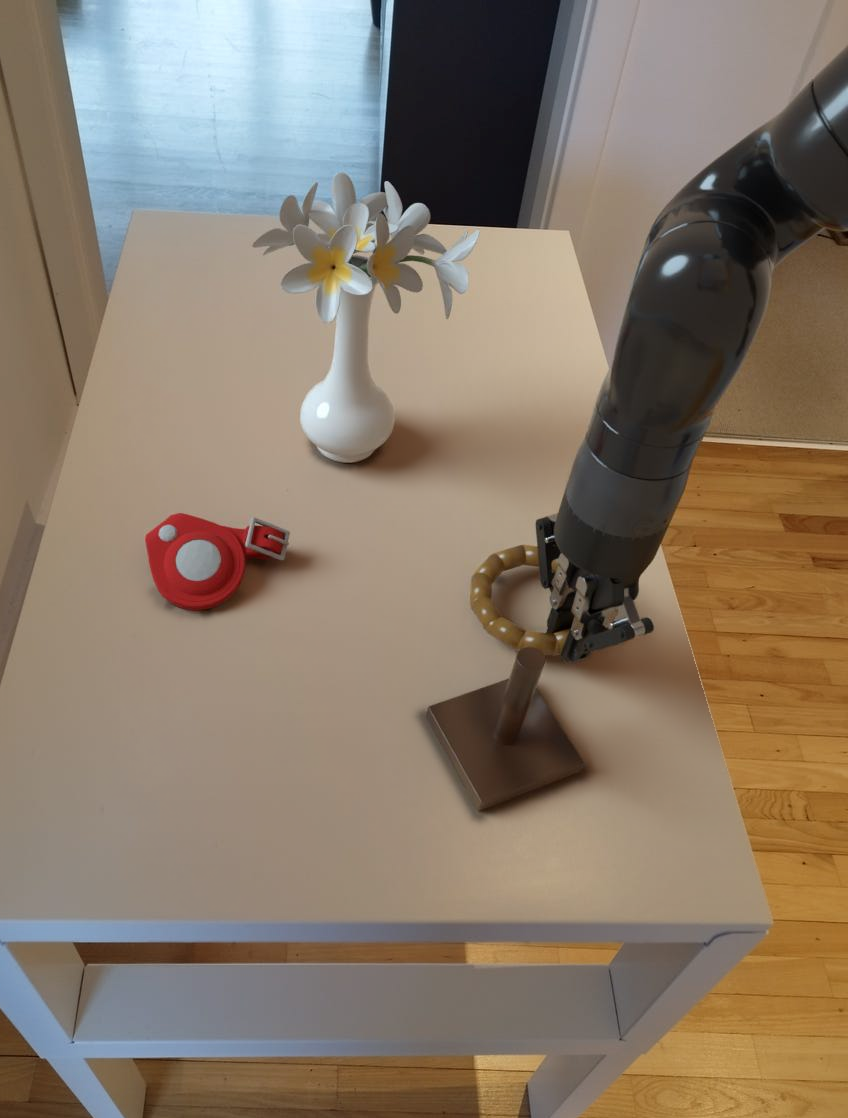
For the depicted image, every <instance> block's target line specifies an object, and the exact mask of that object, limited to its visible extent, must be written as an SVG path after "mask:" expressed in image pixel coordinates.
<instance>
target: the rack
mask: <svg viewBox="0 0 848 1118" xmlns="http://www.w3.org/2000/svg"><path fill="white" fill-rule="evenodd" d="M545 656H546V655H545V654H543V653H542V652H541V651H540V650H538V649H536V648H533V647H525V648H522V649H521V650H519V651H517V653H516V656H515V659H514V662H513V666H512V668H511V672H510V675H509V678H507V679H504V680H500V681H498V682H495V683H492V684H489V685H486V686H484V687H481V688H478V689H475V690H472V691H469V692H467V693H463V694H461V695H460V694H459V695H457V696H454V697H452V698H449V699H445V700H443V701H440V702H438V703H435V704H432V705H429V706H427V709H426V714H425V718H426V719H427V721H428V724H429V725H430V727H431V729H432V731H433V732H434V734H435V736H436V738H437V739H438V741H439V743H440V745H441V747H442V749H443V750H444V752H445V754H446V756H447V758H448V759H449V761H450V763H451V765H452V767H453V768H454V770H455V772H456V774H457V776H458V778H459V779H460V781H461V783H462V785H463V787H464V789H465V790H466V792H467V794H468V796H469V798H470V799H471V801H472V803H473V805H474V806H475V809H476V810H477V812H481V811H483V810H485V809H488V808H490V807H493V806H496V805H498V804H501V803H503V802H505V801H508V800H511V799H513V798H516V797H518V796H522V795H523V794H527V793H529V792H531V791H534V790H536V789H539V788H542V787H545V786H548V785H550V784H552V783H554V782H557V781H559V780H562V779H564V778H568V777H570V776H572V775H575V774H578V773H580V772H581V770H582V768H583V767H584V764H585V760H584V759H583V757H582V756H581V754H580V753H579V752H578V750H577V748H576V747H575V745H574V744H573V742H572V741H571V739H570V737H569V736H568V734H567V733H566V731H565V730H564V729H563V727H562V725H561V724H560V723H559V721H558V719H557V718H556V716H555V715H554V713H553V711H552V710H551V707H549V705H548V704H547V702H546V700H545V699H544V698H543V696H542V695H541V693H540V691H539V690H538V688H537V687H538V684H539V682H540V679H541V675H542V673H543V670H544V667H545V665H546V657H545Z"/></svg>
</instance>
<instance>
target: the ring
mask: <svg viewBox="0 0 848 1118" xmlns="http://www.w3.org/2000/svg"><path fill="white" fill-rule="evenodd" d="M558 559H559V558H558ZM558 559H555V560H553V561H552V572H553V571H556V570H557V567H558V565H559V564H558V562H557V561H558ZM523 566H527V567H538V568H539V560H538V548H537V545H529V544H519V545H516V546H512V547H510V548H507V549H502V550H500V551H496V552H493V553H492V554H490V555H489V556H488V557H487V558H486V559H485V560H484V562H483V563H481V565H480V566H479V567H478V568H477V569H476V570H475V572H474V573H473V574H472V575H471V579H470V595H469V596H470V597H469V605H470V609H471V611H472V612H473V613H474V615H475V616H476V618H477V620H478V621H479V623H480V624H481V625H482V627H483V629H484V630H485V632H486V633H487V634H488V635H489V636H491V637H493V638H495V639H496V640H498V641H499V642H501V643H503V644H505V645H507V646H508V647H510V648H512V649H514V650H515V651H517V652H519V650H521V649H522V648H525V647H533V648H536V649H538V650H540V651H541V652H542V653H543V654H544V656H559V655H560V654H561V653H562V649H563V646H564V644H565V641H566V638H567V635H568V633H569V630H571V628H568V629H565V630H562V631H559V632H556V633H553V634H552V633H546V632H543V631H535V630H526V629H525V628H522V627H520V626H519V625H517V624H516V623H514V622H511V620H508V619H506V618H505V617H504V616H503V615H502V613H501V612H500V611H499V609H498V608H497V606H496V604H494V602H493V600H492V598H493V597H492V593H493V591H492V590H493V584H494V583H495V581H496V580H497V579H498V578H499V577H500V575H502V574H503V572H505V571H510V570H512V569H516V568H519V567H523Z"/></svg>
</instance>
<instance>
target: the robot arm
mask: <svg viewBox="0 0 848 1118" xmlns="http://www.w3.org/2000/svg"><path fill="white" fill-rule="evenodd" d="M826 229H827V230H829V231H833V232H840V233H841V232H848V44H847V45H845V47H844V48H843V49H842V50H841V51H840V52H839V53H838V54H837V55H836V56H835V57H833V58H832V59H831V60H830V61H829V63H827V64H826V65H825V66H824V67H823V68H822V69H821V70H820V71H819V72H818V73H817V74H816V75H815V76H814V78H812V79H810V80H809V82H808V83H807V84H805V86H804V87H803V88H802V89H801V90H800V91H799V92H798V93H797V94H796V95H795V96H794V98H793V99H792V100H791V101H790V102H789V103H788V104H787V105H786V106H785V107H784V108H783V109H782V110H781V111H780V112H779V113H778V114H776V115H775V116H774V117H772V118H771V119H769V120H768V121H766V122H764V123H763V124H762V125H760V126H758V127H757V128H755V129H754V130H753V131H751V132H750V133H749V134H747V135H746V136H744V137H743V138H742V139H740V140H739V141H738V142H737V143H736V144H734V145H733V146H731V147H730V148H728V149H727V150H726V151H725V152H723V153H722V154H721V155H719V156H718V157H716V158H715V159H714V160H713V161H712V162H710V163H709V164H708V165H707V166H705V167H704V168H703V169H702V170H701V171H699V172H698V173H697V174H696V175H694V176H693V177H692V178H691V179H690V180H689V181H688V182H687V183H686V184H685V185H684V186H683V187H681V189H680V190H679V191H678V192H677V193H676V194H675V195H674V196H673V197H672V198H671V199H670V200H669V201H668V202H667V204H666V205H665V206H664V207H663V209H662V210H661V211H660V213H659V214H658V216H657V217H656V219H655V220H654V222H653V223H652V225H651V227H650V229H649V232H648V234H647V235H646V239H645V243H644V245H643V248H642V251H641V252H642V253H641V255H640V259H639V261H638V265H637V267H636V270H635V273H634V275H633V279H632V282H631V285H630V289H629V293H628V296H627V300H626V304H625V308H624V311H623V315H622V318H621V323H620V327H619V331H618V335H617V339H616V343H615V347H614V352H613V355H612V359H611V365H610V366H609V368H608V370H607V372H606V374H605V376H604V378H603V381H602V383H601V386H600V389H599V392H598V394H597V397H596V400H595V404H594V406H593V410H592V414H591V417H590V420H589V422H588V426H587V430H586V433H585V435H584V437H583V439H582V441H581V443H580V446H579V447H578V449H577V452H576V454H575V456H574V460H573V462H572V466H571V469H570V473H569V475H568V478H567V479H568V480H567V482H566V485H565V488H564V492H563V496H562V499H561V502H560V504H559V508H558V512H557V513H554V514H549V515H545V516H544V517H541V518H537V519H536V520H535V534H536V546H537V548H538V560H539V567H538V572H539V582H540V585H541V587H542V588H543V589H545V590H548V589H549V590H550V595H549V604H550V606H551V607H550V611H549V614H548V617H547V620H546V627H547V628H546V630H545V633H552V634H553V633H556V632H559V631H562V630H565V629H568V628H571V630H569V633H568V635H567V638H566V641H565V644H564V646H563V649H562V653H561V654H559V655H560V657H561V659H562V660H563V662H564V663H566V664H568V663H570V662H571V663H572V664H574V663H576V662H579V661H582V660H585V659H587V658H589V657H590V656H591V654H592V653H593V652H596V651H599V650H603V649H607V648H609V647H614V646H616V645H620V644H623V643H626V642H629V641H632V640H634V639H638V638H641V637H643V636H646V635H649V634H652V633H653V632H654V630H655V625H654V622H653V620H652V619H651V618H650V617H648V616H645V617H642V618H641V617H640V614H639V611H638V609H637V605H636V603H635V600H636V599H637V598H638V596H639V592H640V578H641V576H642V575H643V574H644V572H645V571H646V570H647V568H649V566H650V565H651V564H652V562H653V560H655V557H656V556H657V553H658V551H659V549H660V547H661V545H662V543H663V540H664V537H665V535H666V533H667V531H668V528H669V526H670V524H671V523H672V520H673V517H674V516H675V513H676V512H677V508H678V506H679V504H680V502H681V499H682V498H683V495H684V493H685V490H686V487H687V484H688V480H689V476H690V472H691V468H692V466H693V463H694V460H695V458H696V455H697V454H698V451H699V449H700V446H701V444H702V442H703V439H704V437H705V435H706V432H707V430H708V429H709V426H710V424H711V421H712V418H713V415H714V411H715V409H716V406H717V404H718V403H719V401H720V400H721V398H722V397H723V395H724V394H725V393H726V391H727V389H728V387H729V386H730V384H731V383H732V381H733V380H734V378H735V376H736V375H737V374H738V371H739V370H740V368H741V366H742V365H743V364H744V362H745V359H746V357H747V355H748V353H749V352H750V349H751V348H752V345H753V343H754V341H755V339H756V338H757V337H756V336H757V334H758V332H759V330H760V327H761V326H762V322H763V320H764V318H765V315H766V311H767V308H768V305H769V300H770V296H771V289H772V281H773V275H774V270H775V269H776V267H777V266H778V265H780V263H782V261H783V260H785V259H786V258H787V257H788V256H789V255H790V254H792V253H793V252H794V251H795V250H797V249H798V248H799V247H802V246H803V245H804V244H805V243H807V242H808V241H810V240H812V238H814V237H815V236H817V235H818V234H820V233H822V232H823V231H824V230H826ZM558 558H559V559H558ZM555 559H558V561H557V562H558V564H559V565H558V567H557V570H556V571H553V570H552V561H553V560H555ZM616 611H617V613H616V615H615V616H614V618H613V621H612V622H609V620H610V617H611V615H612V614H614V613H615V612H616ZM608 622H609V623H608ZM607 625H608V627H607Z"/></svg>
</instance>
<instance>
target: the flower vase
mask: <svg viewBox="0 0 848 1118" xmlns="http://www.w3.org/2000/svg"><path fill="white" fill-rule="evenodd" d="M318 186H319V182H315V183H314V184H313V185H312V186H311V187H310V188H309V190H308V191H307V192H306V194H305V196H304V198H303V200H302V203H301V207H300V205H299V202H298V200H297V198H296V196H295V195H293V194H289V195H287V197H286V198H285V199H284V200H283V201H282V204H281V206H280V209H279V214H278V216H279V217H278V218H279V222H280V224H281V226H282V227H283V228H280V227H277V228H275V227H274V228H272V229H269V230H267V231H265V232H264V233H262V234H261V235H259V236H258V237H257V238H256V239H255V240H254V241H253V243H252V248H253V249H255V248H264V247H265V249H264V251H263V252H262V254H261V255H262V256H266V255H269V254H270V253H273V252H276V251H278V250H281V249H283V248H284V249H285V248H287V247H293V246H295V247H296V249H297V251H298V252H299V254H300V255H301V256H302V257H303V259H305V261H308V262H306V263H301V264H299V265H296V266H293V267H292V268H291V269H289V270H287V271H286V272H285V273H284V275H283V276H281V277H282V278H281V279H280V286H281V289H282V291H284V292H285V293H288V294H295V295H296V294H304V293H306V292H310V291H312V290H314V289H316V291H315V308H316V313H317V315H318V317H319V319H320V320H321V322H323V323H325V324H330V323H332V322H333V321H334V320H335V330H334V344H333V353H332V360H331V364H330V368H329V370H328V372H327V374H326V376H325V378H324V379H322V380H321V381H319V382H317V383H316V384H315V385H314V386H313V387H312V388H311V389H310V390H309V391H308V392H307V393H306V395H305V396H304V399H303V401H302V404H301V406H300V410H299V423H300V426H301V428H302V431H303V433H304V435H305V436H306V437H307V438H308V439H309V441H310V442H311V443H313V445H315V446H316V448H317V450H318V451H319V452H320V453H321V455H322V456H324V457H326V458H327V459H330V460H332V461H334V462H338V463H343V464H345V463H347V464H348V463H350V464H352V463H358V462H361V461H364V460H366V459H367V458H369V457H370V456H371V455H372V454H373V453H374V452H375V450H377V449H378V448H380V447H381V446H383V445H384V444H385V442H386V441H387V440H388V439H389V437H390V436H391V435H392V433H393V430H394V427H395V425H396V423H395V422H396V417H395V409H394V406H393V403H392V401H391V399H390V398H389V395H388V394H387V393H386V392H385V391H384V389H383V388H382V387H381V386H380V385H379V384H377V383H376V382H375V380H374V379H373V376H372V374H371V370H370V364H369V337H370V335H369V334H370V331H369V330H370V314H371V308H372V304H373V299H374V295H375V291H376V287H377V285H378V284H379V286H380V287H381V289H382V291H383V294H384V297H385V298H386V301H387V303H388V305H389V307H390V310H391V311H392V313H393V314H397V315H398V314H399V313H400V311H401V309H402V297H401V293H400V290H399V287H400V288H402V289H404V290H406V291H409V292H411V293H420V292H421V291H422V290H423V287H424V283H423V280H422V278H421V276H420V275H419V273H418V272H417V270H416V269H414V268H413V267H412V266H411V265H409V264H407V263H405V262H417V263H423V264H425V265H428V266H430V267H433V268H434V271H435V274H436V277H437V280H438V284H439V287H440V291H441V297H442V300H443V307H444V314H445V319H446V320H449V318H450V315H451V311H452V306H453V291H452V289H453V290H454V291H455V292H456V293H458V294H460V295H463V294H465V293H466V291H467V290H468V287H469V284H470V275H469V270H468V269H467V267H466V266H465V265H463V264H462V263H459V262H461V261H463V260H465V259H466V258H467V257H468V256H469V255H470V254H471V252H473V249H474V247H475V246H476V244H477V241H478V240H479V237H480V233H481V232H480V231H481V230H480V229H476V230H474V232H472V233H470V235H468V233H469V231H468V230H466V231H464V233H463V235H461V237H460V238H459V239H458V240H457V241H456V242H455V244H454V245H452V246H451V248H448V250H447V248H446V247H445V246H444V245H443V243H441V242H440V241H439V240H438V239H437V238H435V237H434V236H432V235H430V234H427V233H422V232H423V230H424V229H425V228H426V227H427V226H428V225H429V224H430V221H431V211H430V209H429V207H427V205H425V204H424V203H422V202H415V203H412V204H411V205H410V206H409V207H407V208H406V210H405V211H404V212H403V209H404V208H403V203H402V200H401V197H400V195H399V193H398V192H397V190H396V188H395V187H394V186H393V185H392V183H391V182H389V181H388V180H387V181H386V180H385V181H384V191H385V192H383V191H378V192H373V193H370V194H367V195H366V196H365V197H363V198H362V199H361V200H360V201H359V202H357V193H356V189H355V185H354V183H353V181H352V179H351V178H350V176H349V175H348V174H346V173H345V172H343V171H341V172H337V173H335V175H334V176H333V177H332V180H331V187H330V190H331V191H330V194H331V200H332V205H331V204H330V203H328V202H326V201H323V200H319V199H315V197H316V194H317V190H318ZM382 212H383V213H382ZM374 218H375V224H374V223H372V222H371V220H372V219H374ZM310 220H311V221H312V222H313V223H314V224H315V225H316V226H317V227H318V228H319V229H320V230H321V231H323V232H324V233H317V232H316V231H315V230H313V229H312V228H310V227H309V226H310ZM390 236H391V238H390ZM411 250H413V251H415V252H416V253H418V254H420V255H413V254H412V255H411V254H410V252H411ZM425 251H428V252H429V251H430V252H432V253H436V254H439V255H441V256H440V257H439V258H437V259H432V258H429V257H426V256H423V255H425ZM371 252H372V254H371V255H370V256H369V257H367V256H365V255H357V253H371ZM421 255H422V256H421Z"/></svg>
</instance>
